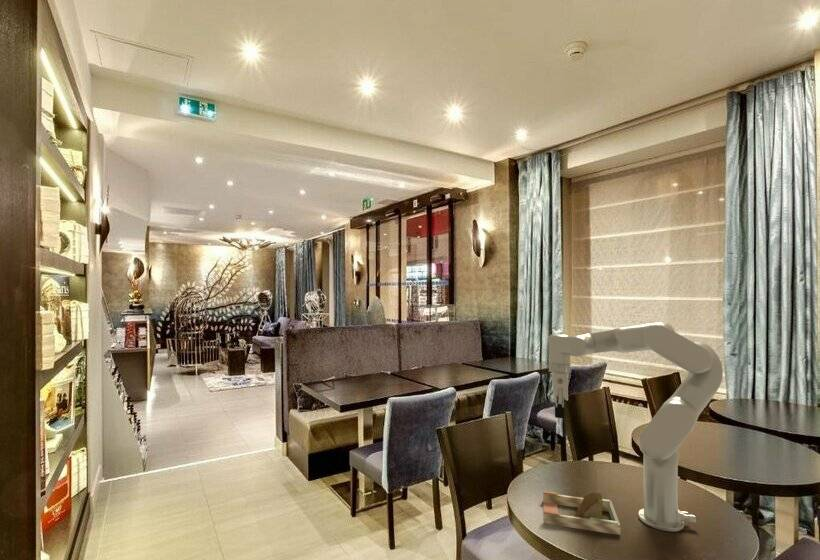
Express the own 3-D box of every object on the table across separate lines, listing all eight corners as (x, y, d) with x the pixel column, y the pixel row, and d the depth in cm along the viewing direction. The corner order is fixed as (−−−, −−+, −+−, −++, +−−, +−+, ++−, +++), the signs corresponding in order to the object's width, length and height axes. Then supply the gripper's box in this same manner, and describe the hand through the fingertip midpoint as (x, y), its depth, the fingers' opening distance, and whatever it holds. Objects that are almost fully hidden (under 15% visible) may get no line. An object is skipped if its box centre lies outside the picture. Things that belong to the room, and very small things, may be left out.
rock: (574, 523, 130) (608, 522, 128) (568, 493, 135) (600, 491, 134) (572, 529, 138) (604, 529, 136) (566, 500, 143) (597, 499, 142)
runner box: (611, 510, 142) (611, 500, 142) (620, 535, 128) (620, 523, 128) (543, 501, 148) (543, 491, 148) (544, 523, 134) (544, 512, 134)
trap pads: (556, 503, 147) (556, 492, 147) (559, 525, 133) (559, 514, 133) (543, 501, 148) (543, 491, 148) (544, 523, 134) (544, 512, 134)
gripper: (571, 371, 149) (572, 424, 148) (568, 365, 163) (568, 412, 163) (549, 370, 151) (549, 422, 150) (548, 363, 165) (548, 411, 165)
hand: (559, 417), depth 157 cm, fingers closed
